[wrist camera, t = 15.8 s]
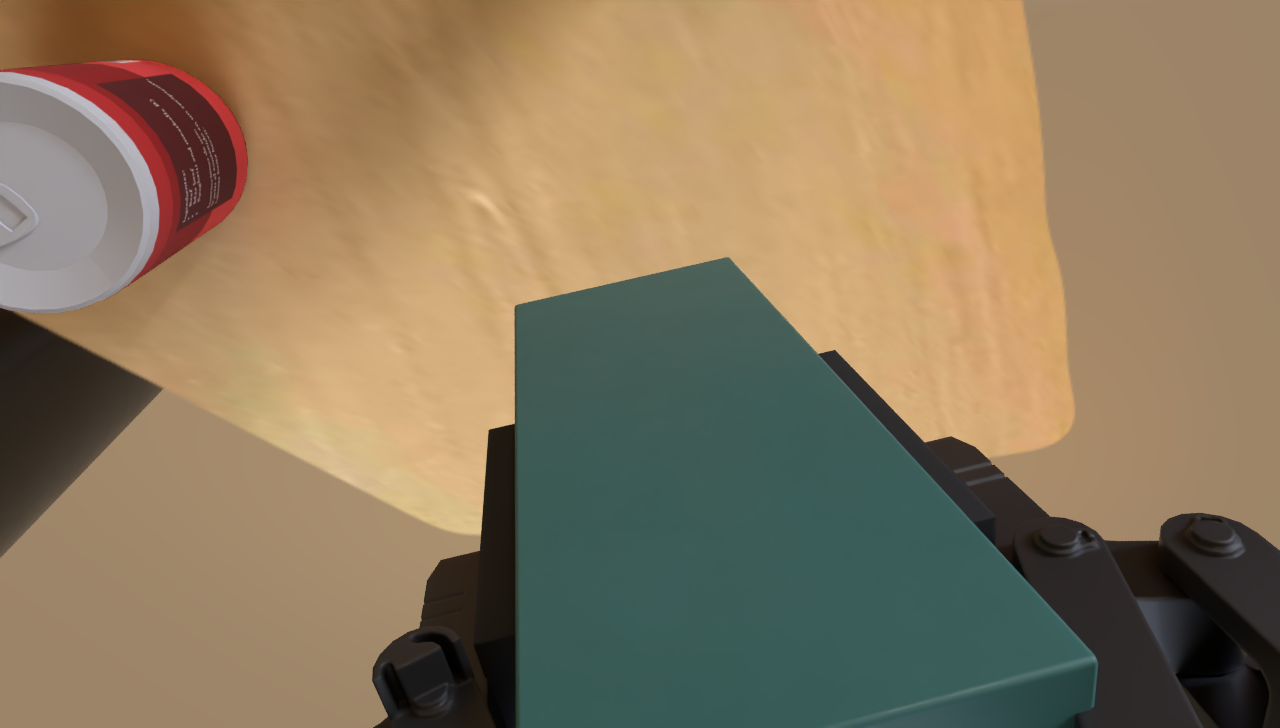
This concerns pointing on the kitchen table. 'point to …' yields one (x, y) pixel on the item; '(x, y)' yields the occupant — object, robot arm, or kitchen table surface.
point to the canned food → (107, 177)
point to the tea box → (747, 536)
